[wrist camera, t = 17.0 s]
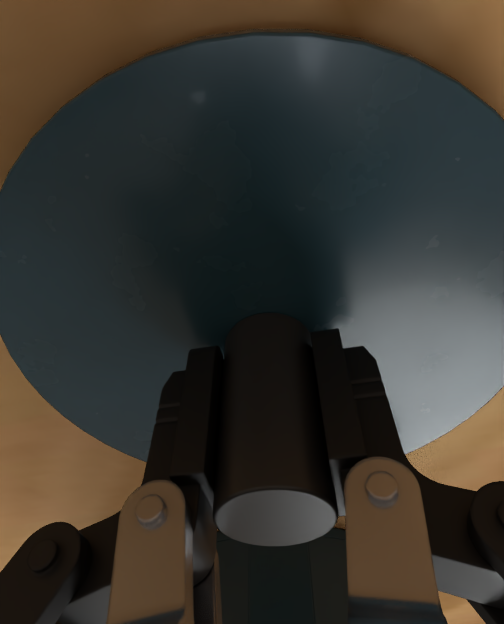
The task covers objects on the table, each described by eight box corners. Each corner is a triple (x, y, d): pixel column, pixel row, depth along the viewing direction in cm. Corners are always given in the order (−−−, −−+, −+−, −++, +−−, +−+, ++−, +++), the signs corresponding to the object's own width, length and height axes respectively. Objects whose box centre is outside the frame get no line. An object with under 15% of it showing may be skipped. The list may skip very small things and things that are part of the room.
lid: (-72, 333, 13) (-243, 533, 9) (241, -226, 6) (209, -694, 2) (276, 495, 19) (283, 662, 15) (630, 303, 12) (848, 507, 8)
